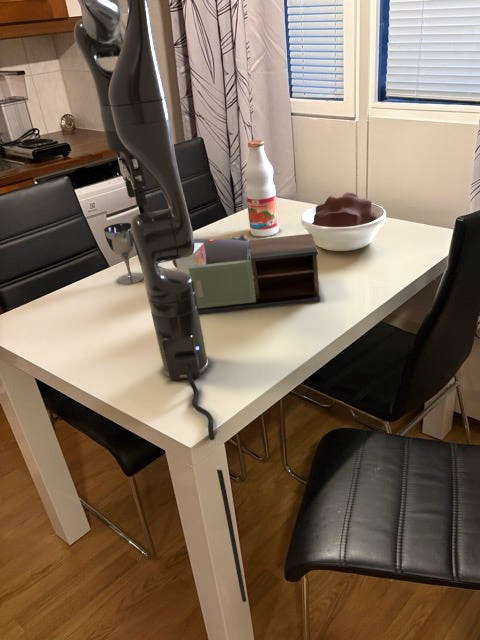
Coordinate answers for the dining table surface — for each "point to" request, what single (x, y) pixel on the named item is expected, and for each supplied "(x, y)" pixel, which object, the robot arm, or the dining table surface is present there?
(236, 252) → the bluetooth speaker
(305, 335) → the dining table surface
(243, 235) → the animal figurine
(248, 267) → the door
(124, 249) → the wine glass
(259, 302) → the track
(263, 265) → the box
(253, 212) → the fruit juice
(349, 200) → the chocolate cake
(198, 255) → the small box
